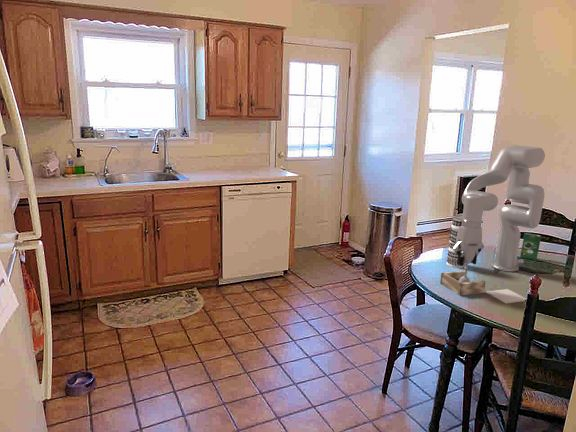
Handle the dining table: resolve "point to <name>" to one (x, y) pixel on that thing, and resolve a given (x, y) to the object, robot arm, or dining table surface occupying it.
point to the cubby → (460, 288)
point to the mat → (506, 296)
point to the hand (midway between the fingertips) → (466, 263)
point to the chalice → (468, 262)
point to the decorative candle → (454, 242)
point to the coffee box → (530, 246)
